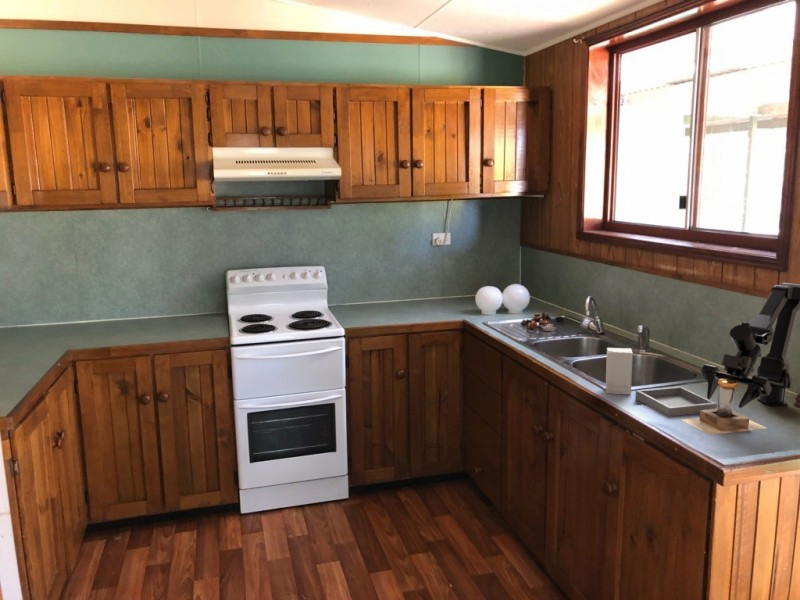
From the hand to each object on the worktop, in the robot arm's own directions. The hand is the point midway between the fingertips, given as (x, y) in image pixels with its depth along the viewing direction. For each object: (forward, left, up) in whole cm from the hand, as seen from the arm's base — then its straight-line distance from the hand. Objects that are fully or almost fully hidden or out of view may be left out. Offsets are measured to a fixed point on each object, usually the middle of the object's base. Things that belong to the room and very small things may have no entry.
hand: (723, 402), depth 195 cm
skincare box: (+11, -36, -8) cm, 39 cm away
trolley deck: (-1, 0, -8) cm, 8 cm away
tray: (+2, -18, -8) cm, 20 cm away
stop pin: (-1, 0, -7) cm, 7 cm away
